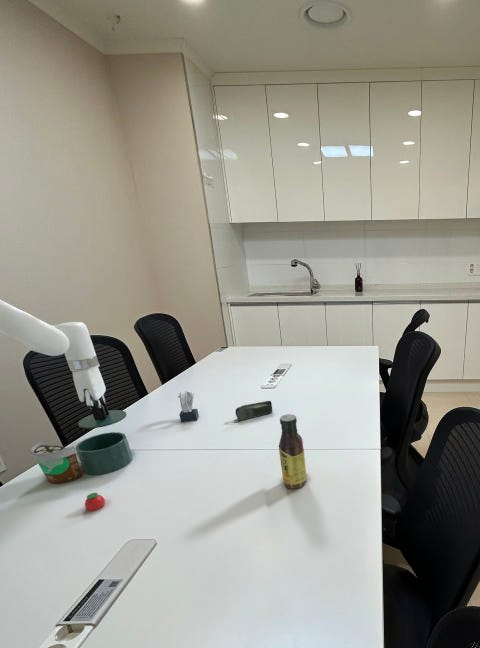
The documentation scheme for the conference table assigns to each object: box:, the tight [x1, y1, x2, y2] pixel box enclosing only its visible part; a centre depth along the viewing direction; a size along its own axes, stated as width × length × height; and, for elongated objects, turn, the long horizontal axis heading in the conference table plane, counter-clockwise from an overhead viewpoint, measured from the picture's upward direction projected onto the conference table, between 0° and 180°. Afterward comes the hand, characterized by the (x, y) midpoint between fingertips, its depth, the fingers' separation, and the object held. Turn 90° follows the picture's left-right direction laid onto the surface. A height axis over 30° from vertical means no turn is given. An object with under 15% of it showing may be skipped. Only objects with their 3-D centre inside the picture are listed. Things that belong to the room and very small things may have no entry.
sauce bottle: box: [278, 413, 307, 489], centre depth 100 cm, size 7×6×20 cm
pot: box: [74, 431, 133, 476], centre depth 115 cm, size 12×12×8 cm
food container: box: [30, 441, 83, 485], centre depth 106 cm, size 12×6×10 cm, turn 76°
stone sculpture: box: [177, 390, 200, 423], centre depth 143 cm, size 6×8×11 cm
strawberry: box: [84, 492, 106, 512], centre depth 95 cm, size 4×4×4 cm
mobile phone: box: [233, 400, 273, 422], centre depth 145 cm, size 5×3×15 cm
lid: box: [77, 404, 127, 429], centre depth 126 cm, size 13×13×6 cm
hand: (102, 417), depth 126 cm, fingers closed on lid, 2 cm apart
